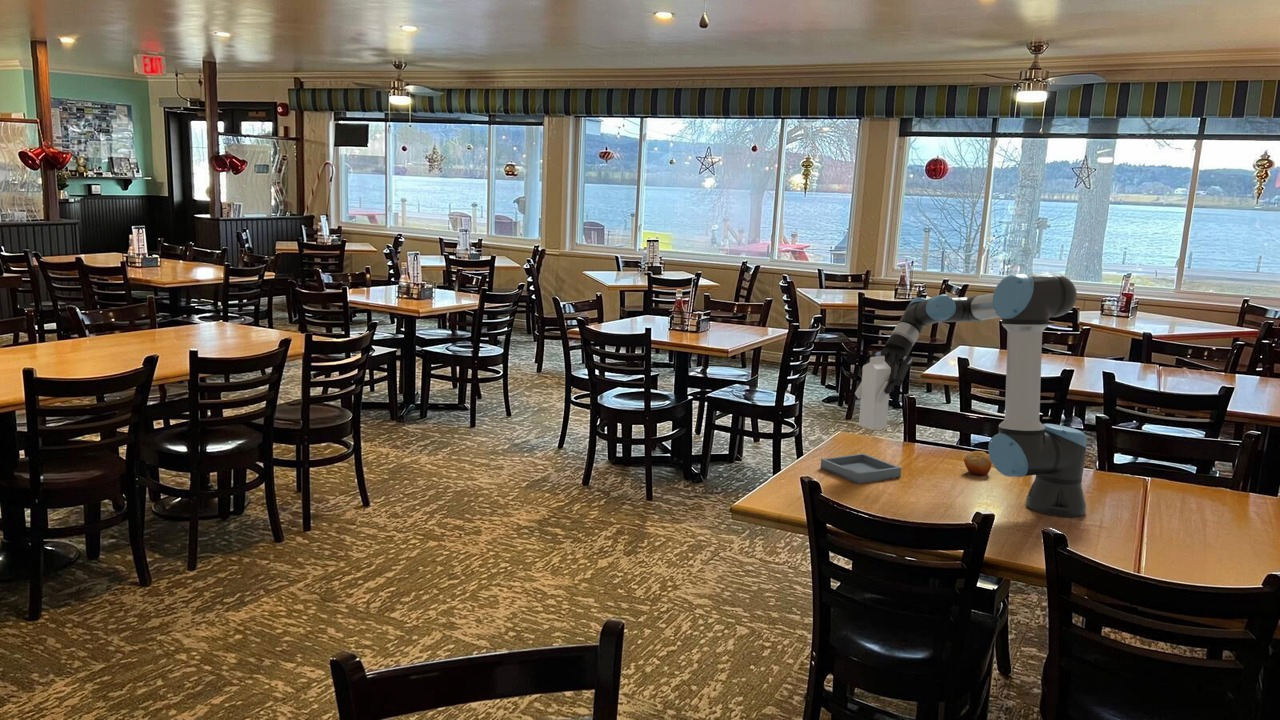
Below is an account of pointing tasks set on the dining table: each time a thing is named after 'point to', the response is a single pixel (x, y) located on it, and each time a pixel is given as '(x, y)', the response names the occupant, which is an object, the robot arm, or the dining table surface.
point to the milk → (874, 394)
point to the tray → (860, 468)
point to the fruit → (978, 463)
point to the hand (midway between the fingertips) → (867, 398)
